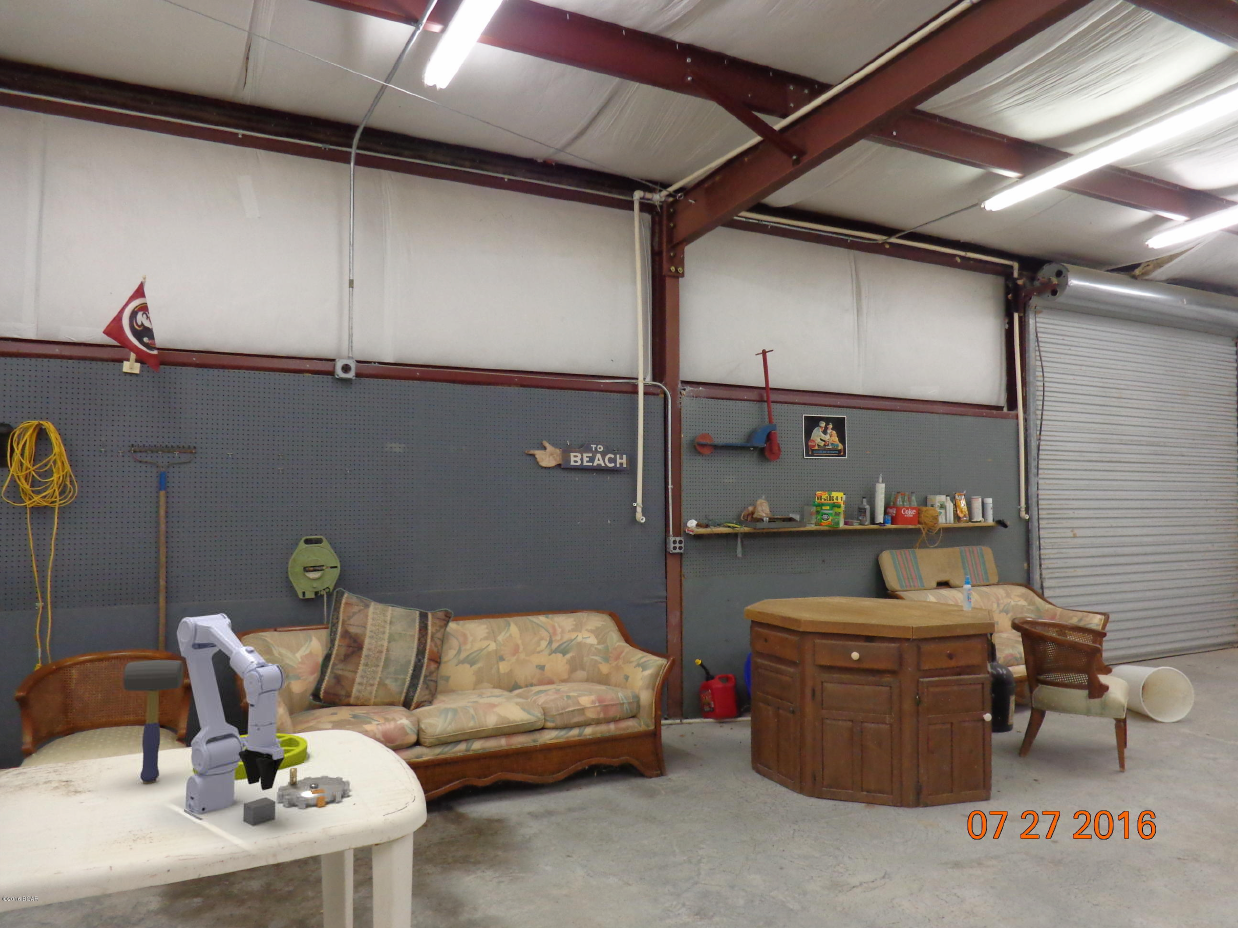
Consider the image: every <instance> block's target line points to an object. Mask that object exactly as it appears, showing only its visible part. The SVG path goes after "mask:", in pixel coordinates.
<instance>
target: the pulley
mask: <svg viewBox="0 0 1238 928" xmlns="http://www.w3.org/2000/svg"><path fill="white" fill-rule="evenodd" d="M239 736H240V738H242V737H247V736H248V734H242V735H239ZM276 738H277V739H280V740H281V743H279V745H280V747H281V748H283V749H284V760H283V761H282V763H281V765H280V766H279V769H278V771H280V770H284V769H288V768H294V767H296V766H300V765H303V764H304V763H305V762H306V761H307V759H306V758H308V752H307V751H308V741H307V739H306V738H303V737H302V736H299V735H295V734H291V733H290V734H289V733H277V732H276ZM245 749H246V747H245ZM305 760H306V761H305ZM304 761H305V762H304ZM303 762H304V763H303ZM302 763H303V764H302ZM192 767H193V766H192ZM192 769H193V770H192V771H193V772H195V773H196V774H197V773H199V772H197V771H196V770H195V769H194V767H193V768H192ZM196 774H195V775H196ZM242 779H243V780H247V775H246V771H245V767H244V764H243V762H242V760H241V761H240V762H239V763H238V767H236V768H235V781H238V780H239V781H240V780H242Z"/></svg>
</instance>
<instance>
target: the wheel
mask: <svg viewBox="0 0 1238 928" xmlns="http://www.w3.org/2000/svg"><path fill="white" fill-rule="evenodd" d="M297 778H298V768H296V767H290V769H289V780H288V781H287V784H286V785H280V786H279V787H278V788H277V792H276V803H277V804H281V803H282V806H283V807H285V808H290V807H297V808H298V809H299V810H300V809H301V810H302V809H303V810H306V809H307V808H310V807H317V808H323V807H326V805H329V804H331V803H333V804H338V803H340V802H342V799H343V798H348V797H349V795H350V789H351V786H350V785H351V782H350V781H349V780H343V779H344V777H341V776H336V777H329V775H321V776H317V777H312V776H305V777H303V779H299V780H298V779H297Z"/></svg>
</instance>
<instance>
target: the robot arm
mask: <svg viewBox="0 0 1238 928" xmlns="http://www.w3.org/2000/svg"><path fill="white" fill-rule="evenodd" d="M231 622H232V621H231V620H230V618H229V617H228V616H227V615H226V614H225V613H222V612H221V613H217V614H211V615H204V616H203V615H202V616H192V617H189V616H187V617H184V618H182V619H181V621H180V622H179V624H178V628H177V630H176V637H177V641H178V647H179V650H180V655H181V657H183V658H185V661H186V662H185V663H186V666H187V670H188V676H189V681H190V685H191V690H192V693H193V694H192V695H193V699H194V703H195V708H196V713H197V718H198V722H199V727H200V731H199V732H198V733H197V734H196V735H195V737H193V739H192V741H191V742H190V746H191V756H190V757H191V758H190V760H191V763H192V764H191V765H192V767H194V769H195V770H196V771H197V772H199V773H197V774H194V775H191V776H189V777H188V778H187V782H186V787H185V788H186V790H185V808H184V809H183V812H184V813H186V814H188V815H190V816H191V817H194V818H195V819H197V820H200V821H201V820H203V818H201V817H200V816H197V815H201V814H205V813H208V812H212V811H217V810H222V809H226V808H228V807H231V806H232V805H233V804H234V802H235V785H236V784H235V782H236V780H235V768H236V767H238V763H239V762H240V761H241V760H242V762H243V764H244V767H245V771H246V775H247V779H246V780H247V783H248V785H254V784H257V783H260V788H261V790H262V791H266V790H270V789H273V787H274V783H275V779H276V777H277V773H278V771H279V770H278V769H279V766H280V765H281V763H282V761H283V760H284V749H283V748H281V747H280V745H279V743H281V740H280V739H277V738H276V733H277V726H278V724H277V723H278V700H279V699H278V696H279V694H278V693H279V691H280V690H282V689H283V687H284V685H285V674H284V671H283V669H282V668H281V666H280V665H279V664H276V663H274V664H272V663H268V662H267V661H266V660H265V659H264V658H263V656H261V655H260V653H258V652H257V651H256V649H255V648H254V647H253V646H249V645H248V646H247V645H246V646H244V645H243V644H242V642H241V641H240V640H239V638H238V637H237V635H235V633H234V632H233V630H232V623H231ZM220 650H221V651H222V652H223V654H226V656H228V657H229V658H230V660H229V666H230V667H231V668H232V669H233V671H235V673H236V674H237V675H238V676H239V677H240V678H241V679H242V680H243V687H244V690H245V693H246V696H245V697H246V702H247V703H248V723H247V735H248V736H247V737H242V738H240V736H241V735H240V733H239V730H238V728H237V727H235V726H234V725H231V724H230V723H227V721H226V717H225V713H224V708H223V705H222V701H221V696H220V691H219V686H218V682H217V677H216V673H215V669H214V664H213V659H212V657H213V656H214V654H215V653H217V652H218V651H220ZM245 747H246V749H245Z"/></svg>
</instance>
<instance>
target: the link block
mask: <svg viewBox="0 0 1238 928" xmlns="http://www.w3.org/2000/svg"><path fill="white" fill-rule="evenodd" d="M276 803H277V800H276V801H275V800H273V799H271V798H269V797H267V796H266V797H262V798H258V799H255V800H252V801H248V802H244V803H243V818H242V819H243V821H242V822H244V823H246V824H247V825H250V826H252V827H254V826H257V825H259V824H263V823H267V822H270V821H273V820H275V819H276Z"/></svg>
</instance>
